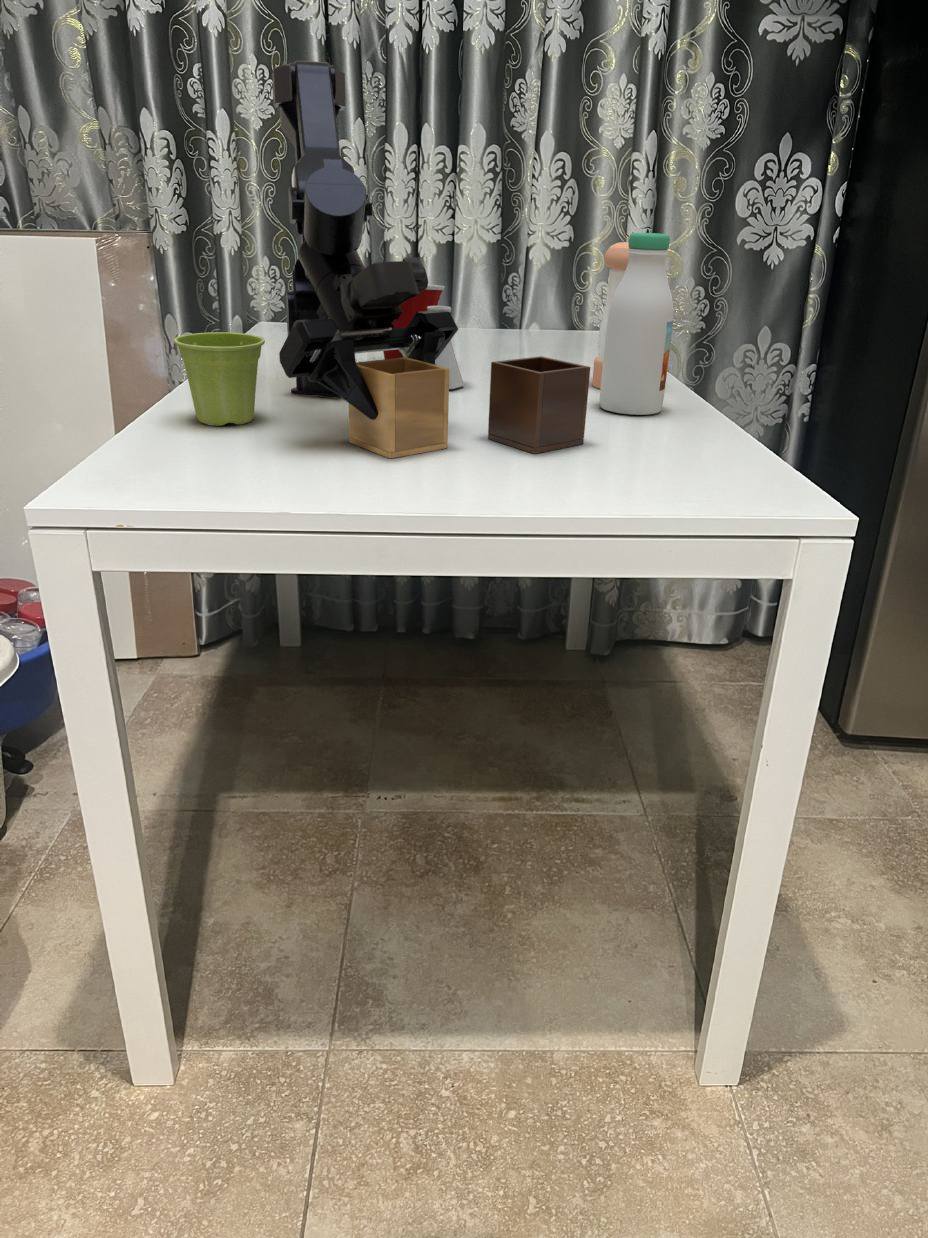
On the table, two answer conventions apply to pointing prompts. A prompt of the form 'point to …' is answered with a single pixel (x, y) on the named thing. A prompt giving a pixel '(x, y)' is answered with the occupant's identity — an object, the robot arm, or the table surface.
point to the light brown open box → (403, 408)
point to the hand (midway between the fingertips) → (406, 412)
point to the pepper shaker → (610, 299)
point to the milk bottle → (639, 331)
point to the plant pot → (221, 374)
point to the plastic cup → (411, 307)
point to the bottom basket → (538, 403)
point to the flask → (448, 357)
